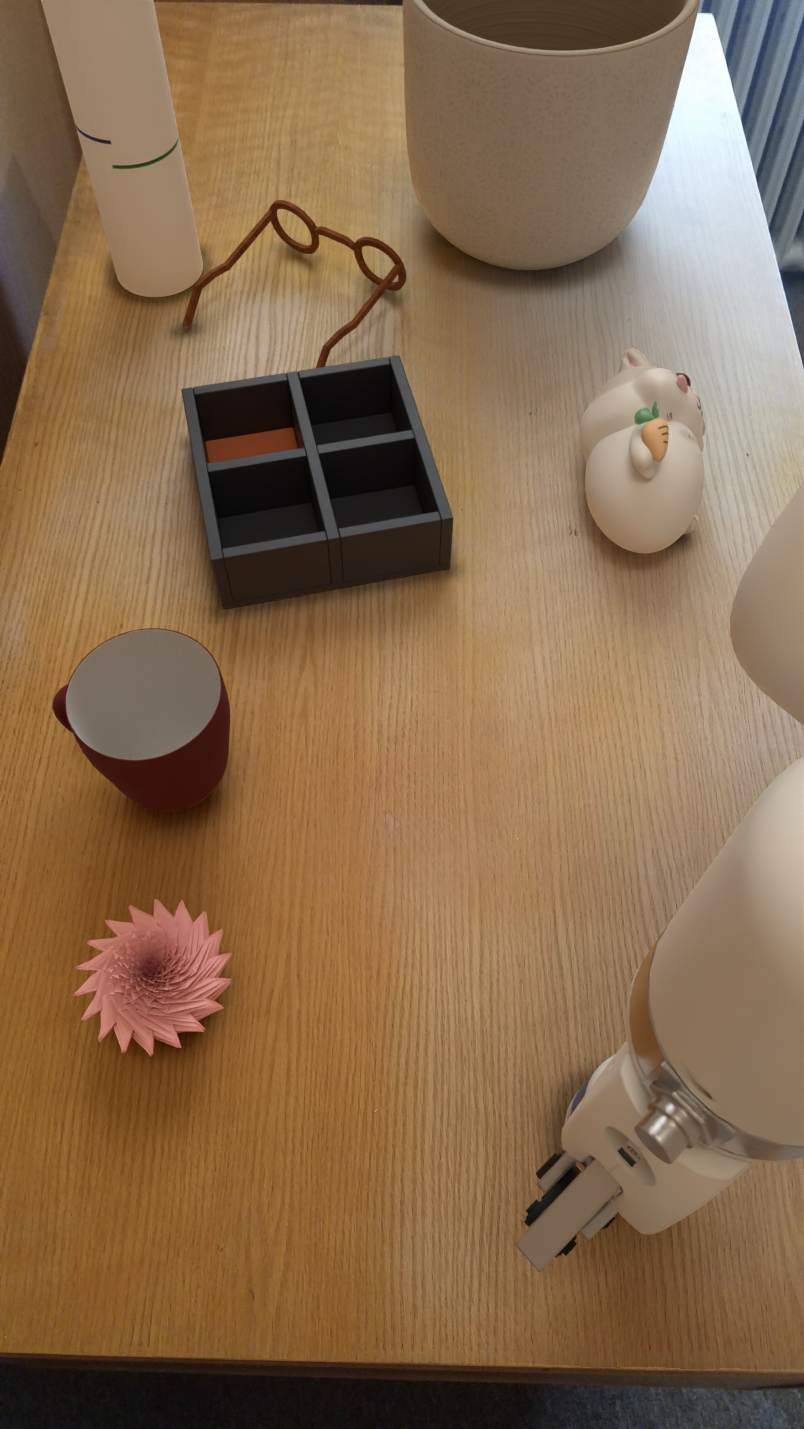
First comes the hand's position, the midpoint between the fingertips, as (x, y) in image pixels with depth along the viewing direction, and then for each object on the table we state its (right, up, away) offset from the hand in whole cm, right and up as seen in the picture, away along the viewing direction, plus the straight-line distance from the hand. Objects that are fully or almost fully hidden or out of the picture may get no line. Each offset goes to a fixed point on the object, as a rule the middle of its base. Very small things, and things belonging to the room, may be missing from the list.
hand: (639, 1117), depth 45 cm
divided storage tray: (-17, +33, +26) cm, 45 cm away
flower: (-23, +3, +9) cm, 25 cm away
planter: (0, +60, +42) cm, 73 cm away
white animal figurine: (+6, +34, +27) cm, 43 cm away
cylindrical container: (-31, +55, +39) cm, 74 cm away
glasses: (-19, +50, +36) cm, 65 cm away
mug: (-25, +14, +15) cm, 33 cm away
